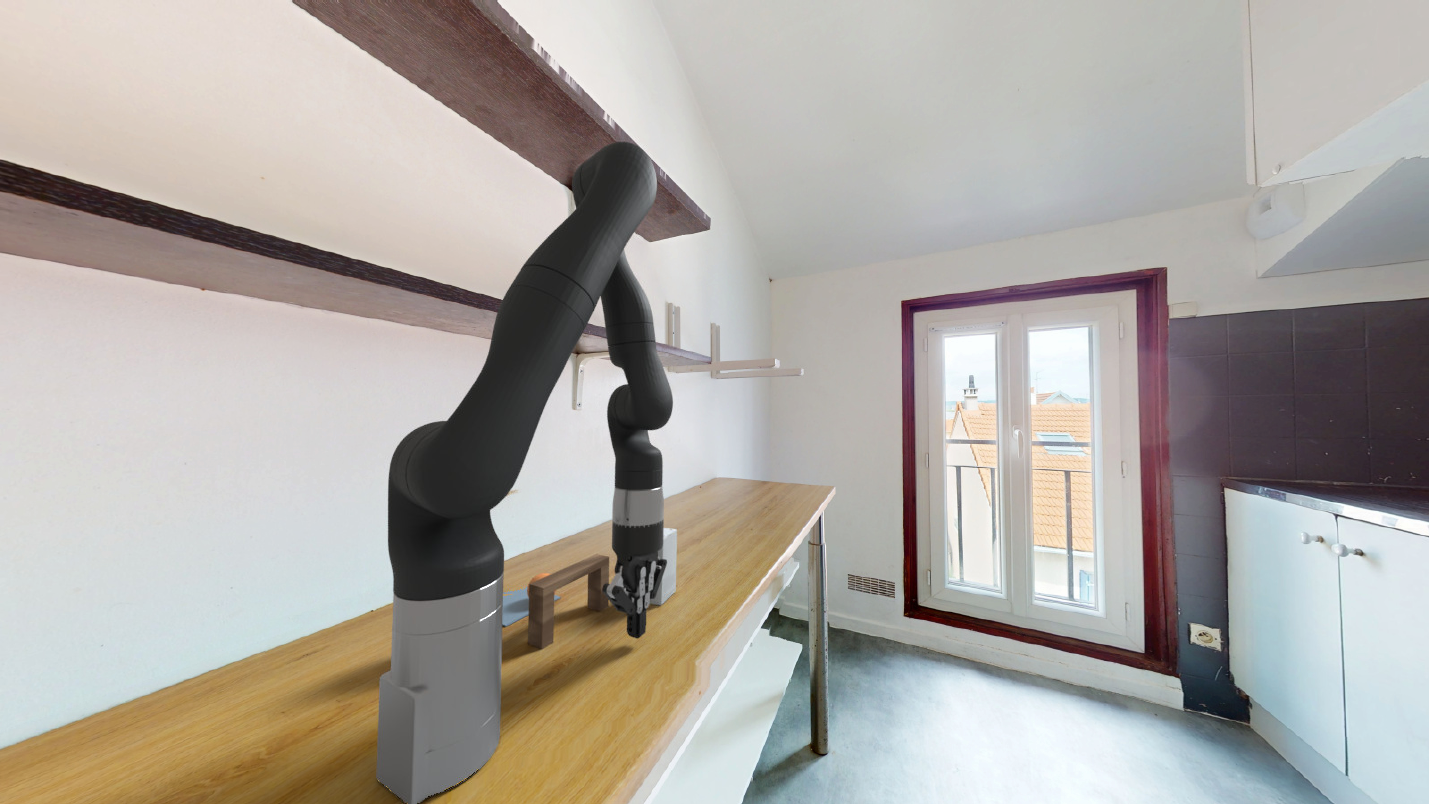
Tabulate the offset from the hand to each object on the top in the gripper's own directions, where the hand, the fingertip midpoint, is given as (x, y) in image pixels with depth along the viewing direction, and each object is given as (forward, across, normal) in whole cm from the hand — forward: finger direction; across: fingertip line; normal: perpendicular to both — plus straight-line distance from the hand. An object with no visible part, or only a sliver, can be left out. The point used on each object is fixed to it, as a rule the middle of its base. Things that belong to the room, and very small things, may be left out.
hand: (636, 634), depth 58 cm
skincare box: (+2, +14, +5) cm, 15 cm away
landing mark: (+2, 0, +27) cm, 27 cm away
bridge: (+2, 0, +13) cm, 13 cm away
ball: (-1, +3, +23) cm, 23 cm away
